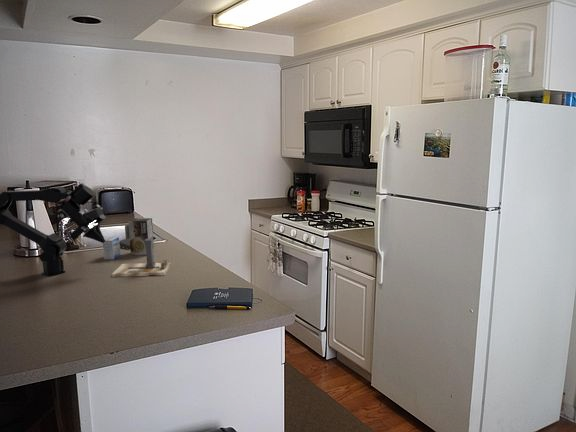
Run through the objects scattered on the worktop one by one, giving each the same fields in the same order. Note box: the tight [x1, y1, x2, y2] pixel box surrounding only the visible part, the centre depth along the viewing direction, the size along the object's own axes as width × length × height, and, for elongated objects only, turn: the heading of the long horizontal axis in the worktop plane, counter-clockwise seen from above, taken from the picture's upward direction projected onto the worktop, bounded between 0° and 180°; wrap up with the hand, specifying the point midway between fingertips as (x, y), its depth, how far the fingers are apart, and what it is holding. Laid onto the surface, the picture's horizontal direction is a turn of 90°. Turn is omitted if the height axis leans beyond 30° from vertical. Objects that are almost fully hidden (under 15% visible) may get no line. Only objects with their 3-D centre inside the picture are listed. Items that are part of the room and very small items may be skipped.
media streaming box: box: [119, 237, 155, 250], centre depth 229 cm, size 15×15×3 cm
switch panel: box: [111, 259, 172, 278], centre depth 184 cm, size 20×14×4 cm
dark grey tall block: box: [145, 237, 156, 268], centre depth 184 cm, size 3×4×11 cm
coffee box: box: [127, 217, 155, 256], centre depth 212 cm, size 9×6×16 cm
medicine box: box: [102, 236, 121, 261], centre depth 205 cm, size 8×4×9 cm, turn 179°
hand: (104, 242), depth 181 cm, fingers closed
